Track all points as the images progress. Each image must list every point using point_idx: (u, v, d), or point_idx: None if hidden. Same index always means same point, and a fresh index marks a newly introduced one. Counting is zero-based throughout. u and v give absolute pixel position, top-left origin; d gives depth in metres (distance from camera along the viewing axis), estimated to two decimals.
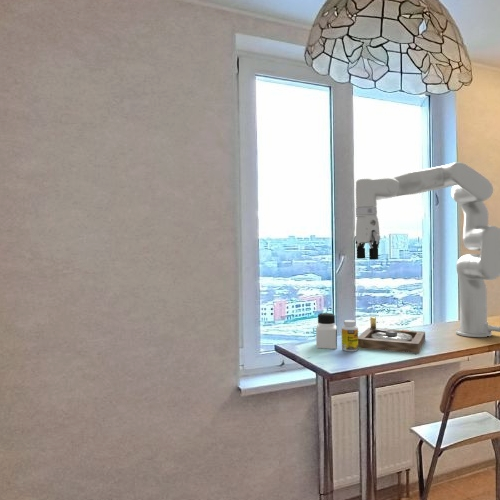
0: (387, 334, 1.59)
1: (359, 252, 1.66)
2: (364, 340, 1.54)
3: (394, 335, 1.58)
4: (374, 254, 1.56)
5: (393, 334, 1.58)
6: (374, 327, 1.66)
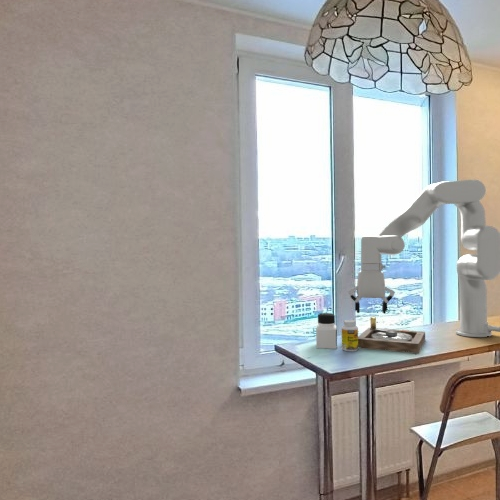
0: (387, 334, 1.59)
1: None
2: (364, 340, 1.54)
3: (394, 335, 1.58)
4: None
5: (393, 334, 1.58)
6: (374, 327, 1.66)
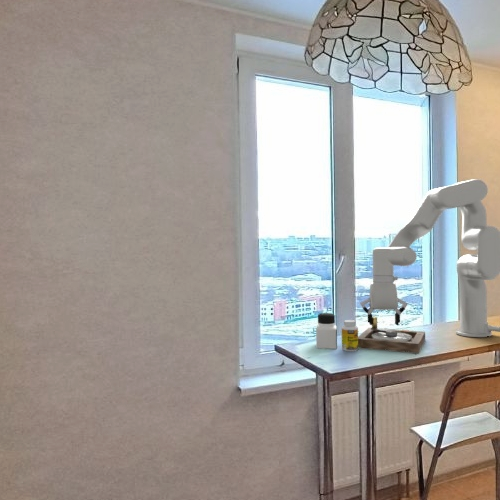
0: (387, 334, 1.59)
1: None
2: (364, 340, 1.54)
3: (394, 335, 1.58)
4: None
5: (393, 334, 1.58)
6: (375, 327, 1.66)
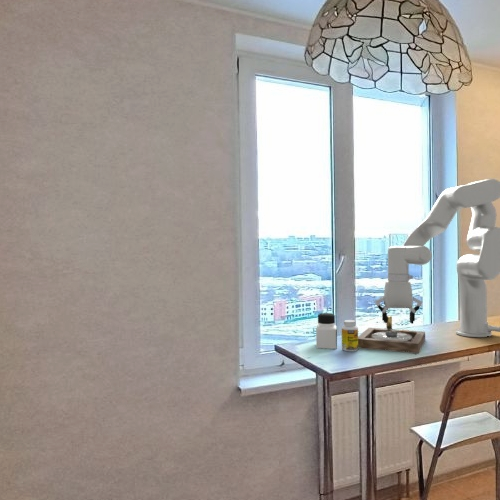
0: (385, 333, 1.60)
1: (386, 316, 1.67)
2: (364, 340, 1.54)
3: (390, 335, 1.58)
4: None
5: (389, 334, 1.58)
6: (388, 326, 1.67)
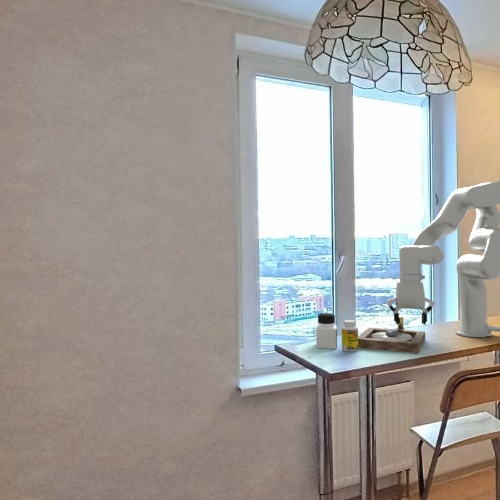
0: None
1: None
2: (364, 340, 1.54)
3: (387, 335, 1.59)
4: None
5: (386, 333, 1.59)
6: (398, 327, 1.66)
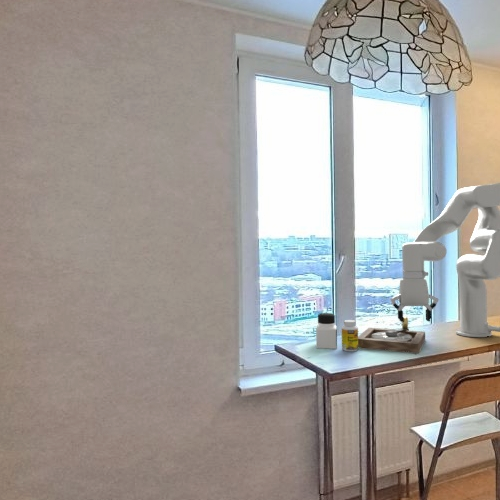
0: None
1: None
2: (364, 340, 1.54)
3: (386, 334, 1.59)
4: None
5: (386, 333, 1.59)
6: (402, 327, 1.64)
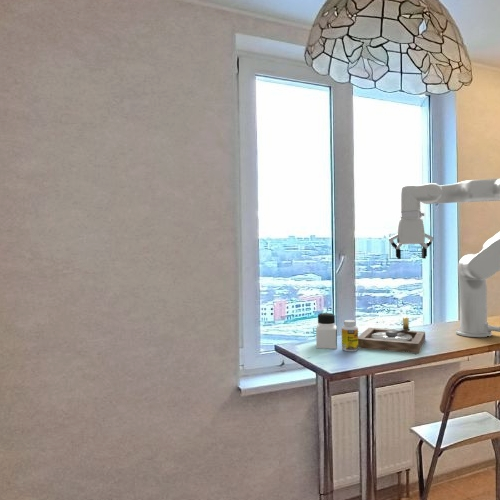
0: None
1: None
2: (364, 340, 1.54)
3: (386, 334, 1.59)
4: None
5: (386, 333, 1.60)
6: (403, 327, 1.64)
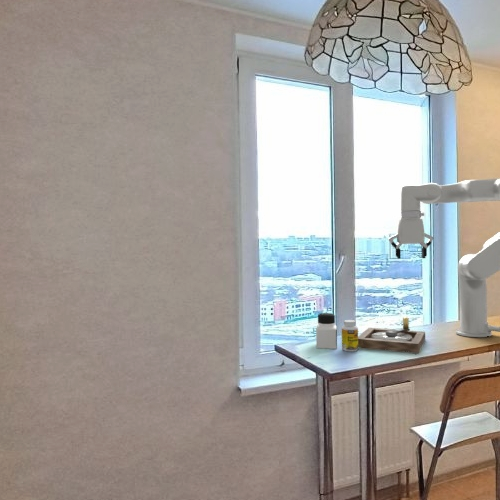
0: None
1: None
2: (364, 340, 1.54)
3: (386, 334, 1.59)
4: None
5: (386, 333, 1.60)
6: (403, 327, 1.64)
